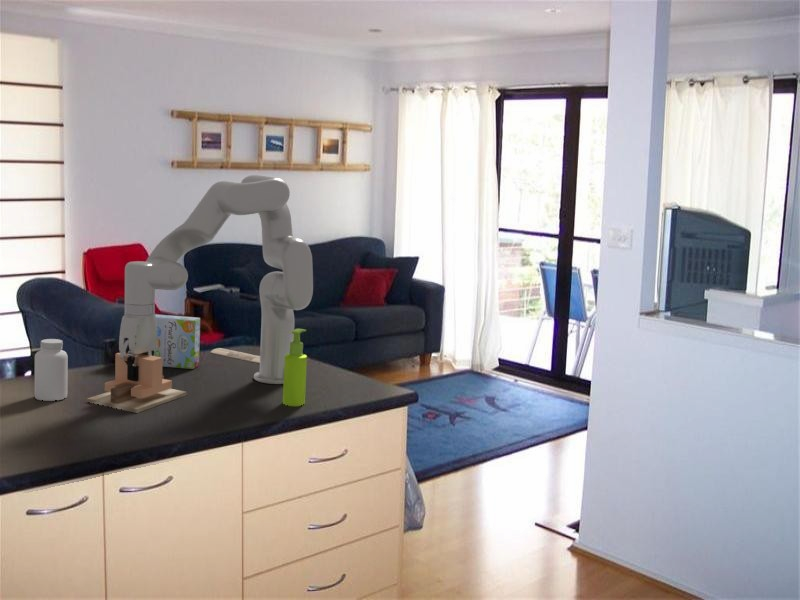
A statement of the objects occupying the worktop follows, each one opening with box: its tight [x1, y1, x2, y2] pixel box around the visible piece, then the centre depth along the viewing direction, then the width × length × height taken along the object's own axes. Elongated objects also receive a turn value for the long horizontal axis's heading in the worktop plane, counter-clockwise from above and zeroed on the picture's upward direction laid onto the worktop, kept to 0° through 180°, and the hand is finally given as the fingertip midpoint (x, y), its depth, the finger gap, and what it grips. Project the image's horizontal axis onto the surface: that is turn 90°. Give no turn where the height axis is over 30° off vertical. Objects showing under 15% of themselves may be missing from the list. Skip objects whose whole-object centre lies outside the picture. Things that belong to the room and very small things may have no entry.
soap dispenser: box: [282, 328, 308, 407], centre depth 245 cm, size 6×7×20 cm
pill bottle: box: [34, 338, 69, 402], centre depth 236 cm, size 8×8×15 cm
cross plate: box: [104, 352, 173, 398], centre depth 240 cm, size 12×12×9 cm
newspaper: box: [210, 347, 260, 364], centre depth 293 cm, size 24×7×2 cm, turn 60°
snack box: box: [145, 313, 201, 370], centre depth 277 cm, size 21×6×15 cm, turn 84°
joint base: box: [86, 375, 188, 414], centre depth 241 cm, size 16×20×4 cm
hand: (138, 377), depth 240 cm, fingers closed on cross plate, 4 cm apart
